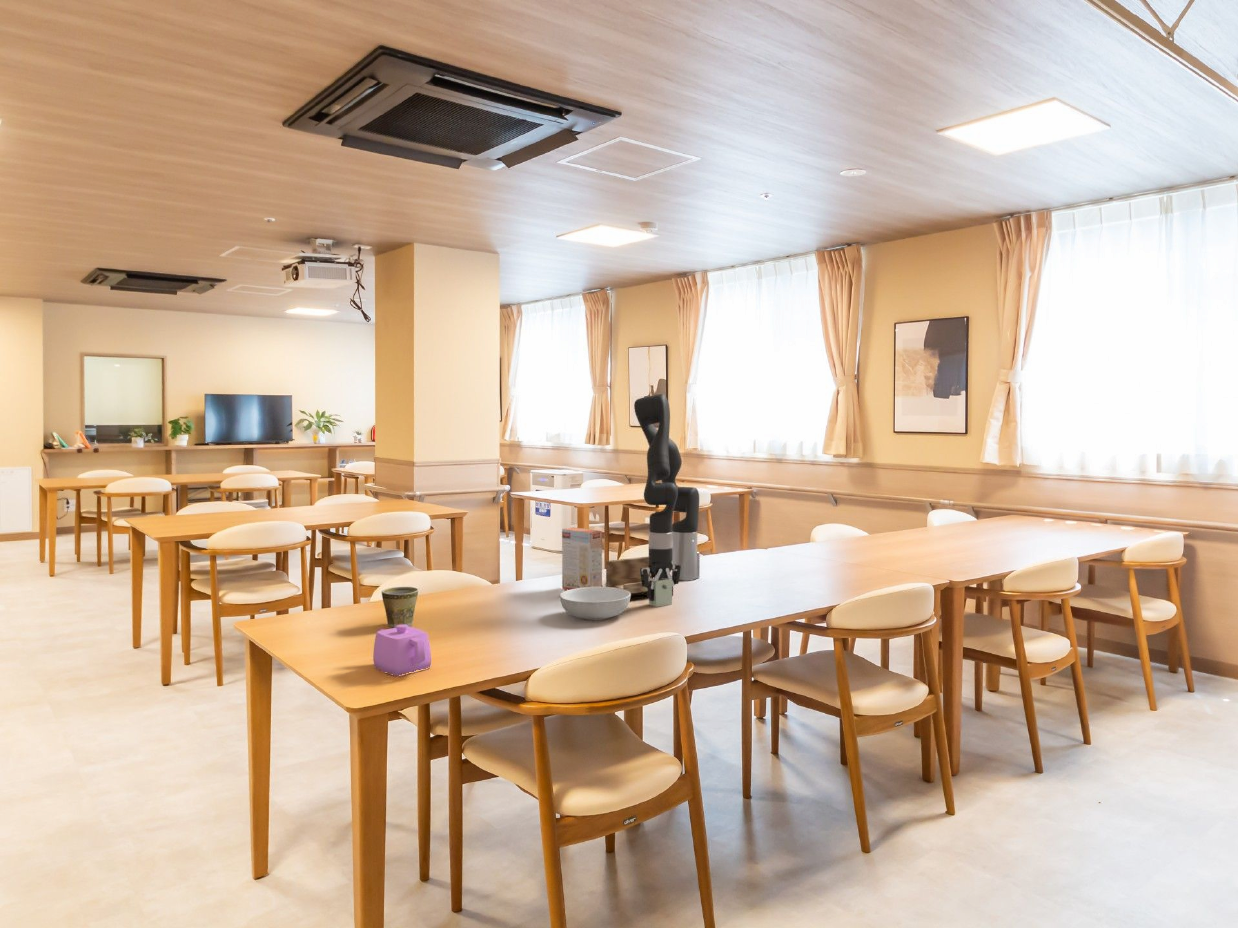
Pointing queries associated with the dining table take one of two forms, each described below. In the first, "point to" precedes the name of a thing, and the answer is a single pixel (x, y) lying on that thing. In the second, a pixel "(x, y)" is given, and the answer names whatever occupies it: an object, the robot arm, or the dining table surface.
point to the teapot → (401, 650)
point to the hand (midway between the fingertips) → (660, 599)
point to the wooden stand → (627, 574)
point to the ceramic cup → (400, 605)
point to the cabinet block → (662, 592)
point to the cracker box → (581, 558)
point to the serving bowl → (595, 602)
